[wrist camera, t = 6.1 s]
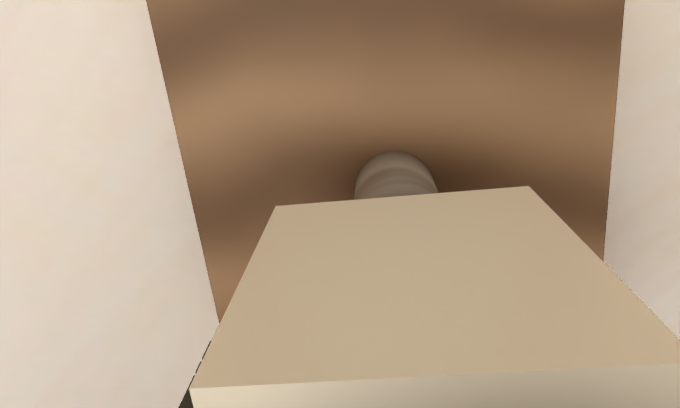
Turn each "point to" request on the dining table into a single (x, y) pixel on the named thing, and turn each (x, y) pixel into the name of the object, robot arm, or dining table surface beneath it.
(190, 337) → the dining table surface
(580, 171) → the post board
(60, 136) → the dining table surface
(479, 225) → the cream drawer box
